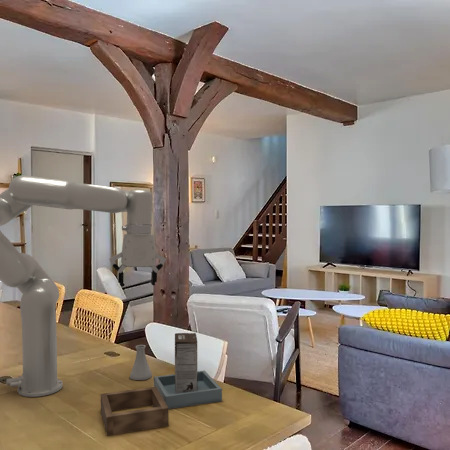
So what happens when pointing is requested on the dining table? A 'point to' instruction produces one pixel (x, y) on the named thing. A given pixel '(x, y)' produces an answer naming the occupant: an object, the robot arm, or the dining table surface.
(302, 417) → the dining table surface
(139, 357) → the flask
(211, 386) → the slate tray
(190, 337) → the coffee box
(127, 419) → the walnut tray
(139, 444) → the dining table surface
